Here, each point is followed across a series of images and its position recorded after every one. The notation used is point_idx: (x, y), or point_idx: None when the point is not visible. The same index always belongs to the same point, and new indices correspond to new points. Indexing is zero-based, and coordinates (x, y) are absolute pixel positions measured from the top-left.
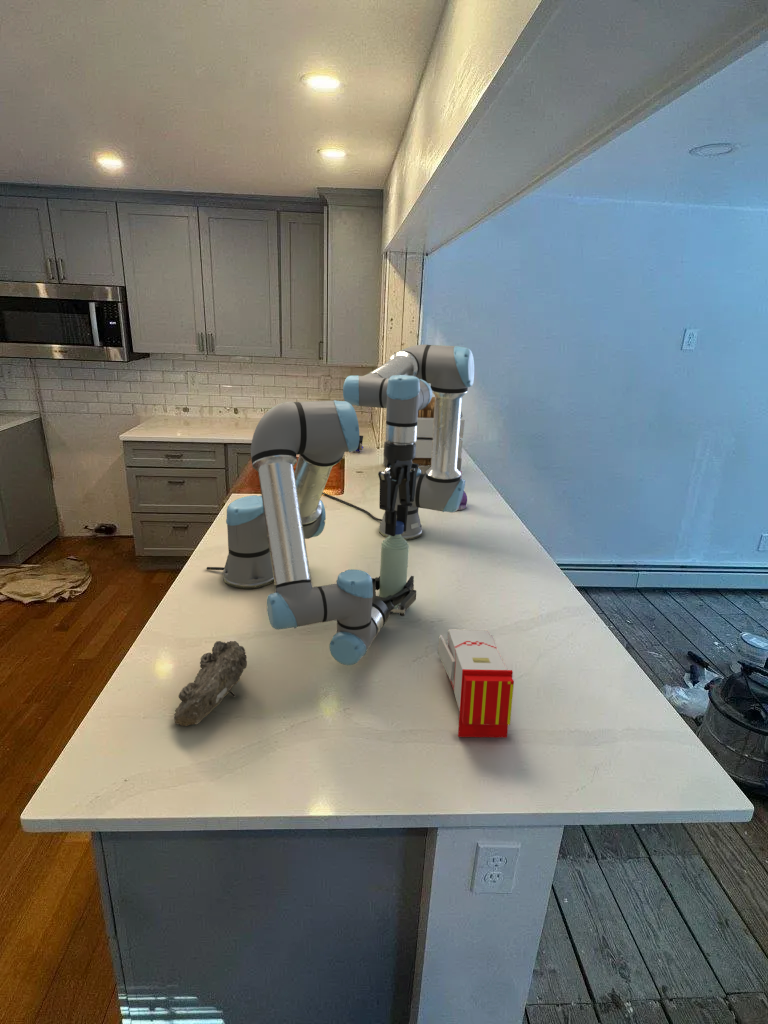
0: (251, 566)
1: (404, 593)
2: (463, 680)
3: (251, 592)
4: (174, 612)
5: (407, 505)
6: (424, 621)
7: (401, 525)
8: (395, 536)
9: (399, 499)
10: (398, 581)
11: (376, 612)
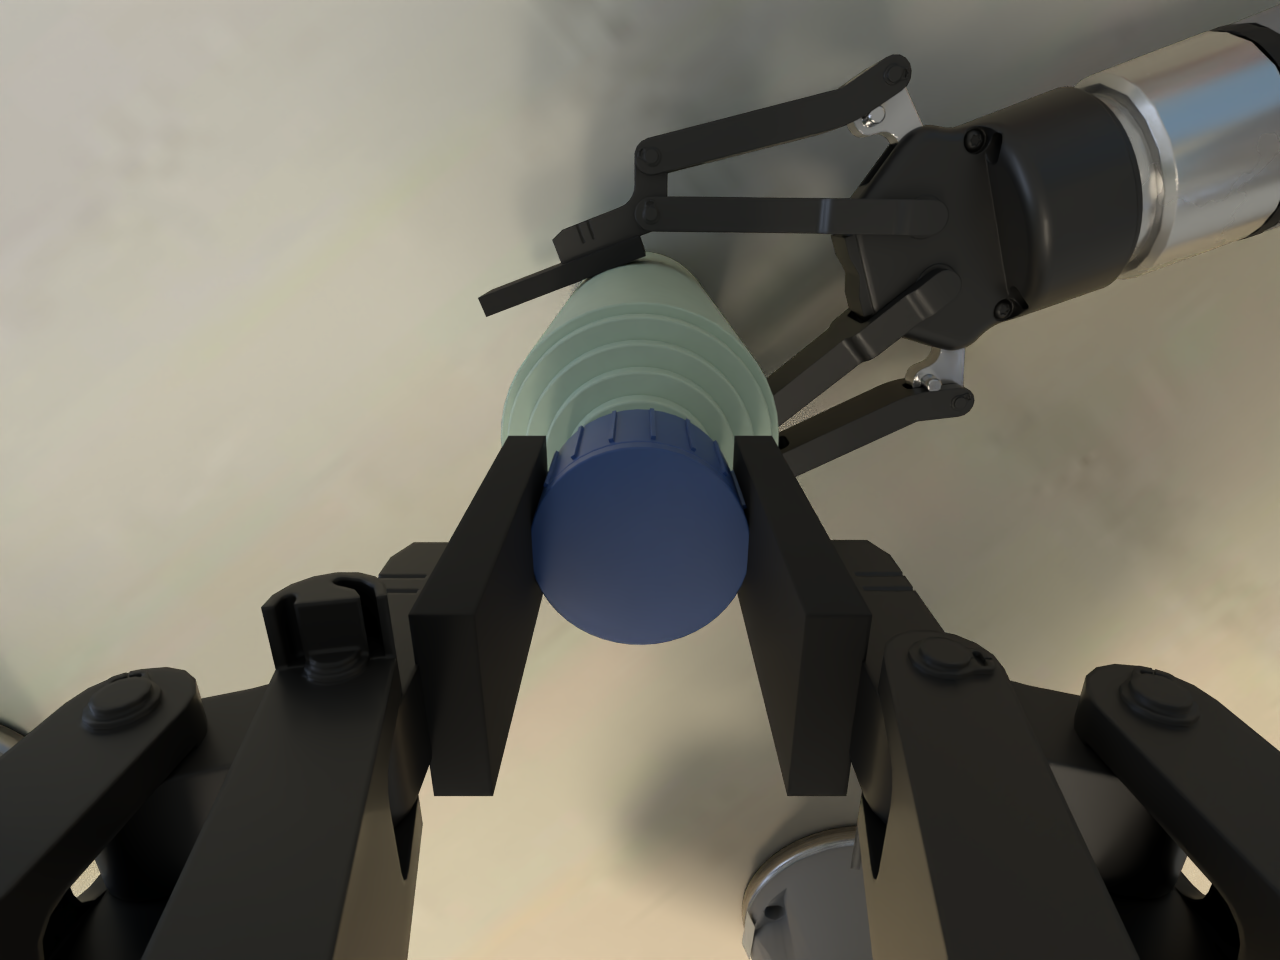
0: None
1: (714, 197)
2: None
3: None
4: None
5: (394, 641)
6: (648, 70)
7: (658, 449)
8: None
9: (412, 888)
10: (688, 282)
11: (1188, 91)
